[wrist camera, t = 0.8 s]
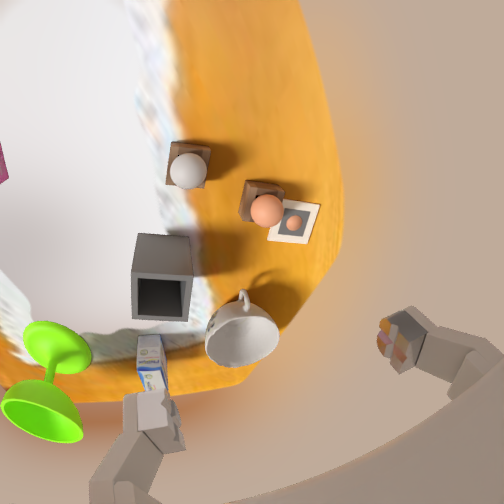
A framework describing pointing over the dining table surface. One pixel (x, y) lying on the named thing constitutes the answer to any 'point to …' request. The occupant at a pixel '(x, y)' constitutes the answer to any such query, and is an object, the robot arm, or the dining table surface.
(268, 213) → the terracotta ball
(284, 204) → the card
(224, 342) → the teacup
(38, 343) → the wineglass
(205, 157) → the walnut ball cups
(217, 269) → the dining table surface
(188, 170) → the white ball
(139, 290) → the charcoal tube
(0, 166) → the gum box
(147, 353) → the medicine box
